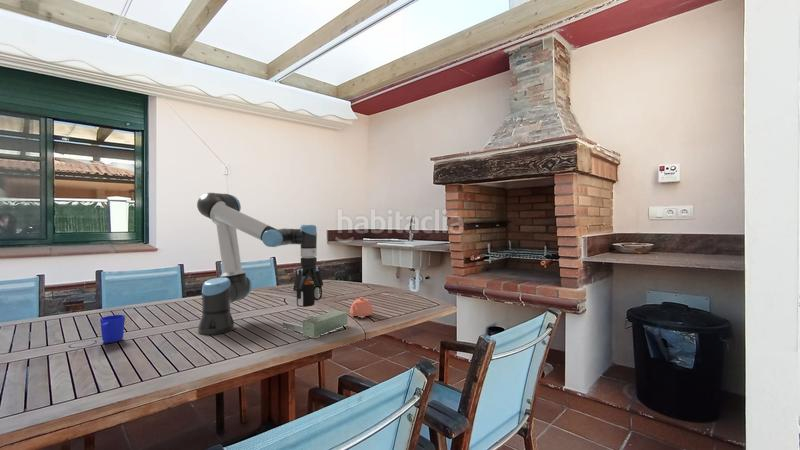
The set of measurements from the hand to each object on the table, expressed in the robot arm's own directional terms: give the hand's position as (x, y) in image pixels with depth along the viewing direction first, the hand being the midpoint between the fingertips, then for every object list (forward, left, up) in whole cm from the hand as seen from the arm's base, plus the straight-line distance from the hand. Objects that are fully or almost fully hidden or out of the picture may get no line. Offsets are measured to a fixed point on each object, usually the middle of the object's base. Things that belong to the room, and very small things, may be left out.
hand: (308, 303), depth 175 cm
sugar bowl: (+9, +28, -12) cm, 32 cm away
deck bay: (+3, 0, -12) cm, 12 cm away
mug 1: (-52, -61, -12) cm, 81 cm away
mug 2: (0, +1, -1) cm, 1 cm away
